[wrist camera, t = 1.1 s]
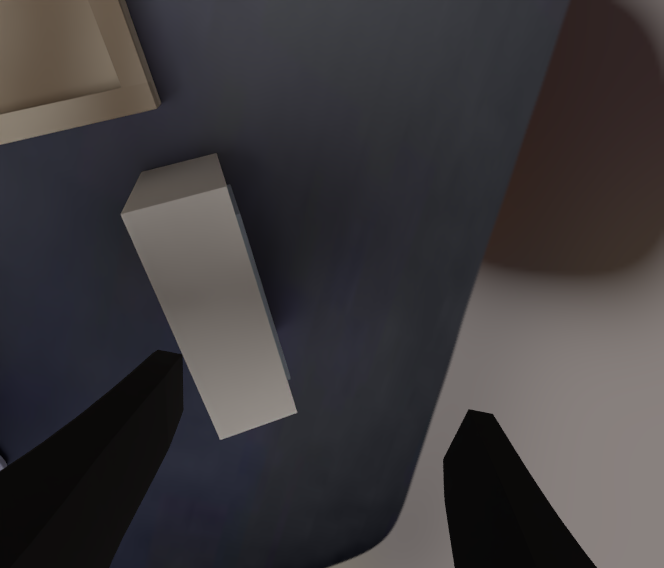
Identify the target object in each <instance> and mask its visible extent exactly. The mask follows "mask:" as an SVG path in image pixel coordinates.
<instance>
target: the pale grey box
mask: <svg viewBox="0 0 664 568" xmlns="http://www.w3.org/2000/svg"><path fill="white" fill-rule="evenodd" d="M121 217H122V219H123V221H124V223H125V226H126V228H127V230H128V233H129V235H130V237H131V239H132V242H133V244H134V246H135V248H136V251H137V253H138V255H139V257H140V260H141V262H142V264H143V266H144V269H145V271H146V273H147V275H148V278H149V280H150V282H151V284H152V287H153V289H154V291H155V294H156V296H157V298H158V300H159V303H160V305H161V307H162V309H163V312H164V314H165V316H166V318H167V321H168V323H169V325H170V327H171V330H172V332H173V334H174V336H175V339H176V341H177V343H178V345H179V348H180V350H181V352H182V354H183V357H184V359H185V361H186V364H187V366H188V368H189V370H190V373H191V375H192V377H193V379H194V382H195V384H196V386H197V388H198V391H199V393H200V395H201V397H202V400H203V402H204V404H205V406H206V409H207V411H208V413H209V415H210V418H211V420H212V422H213V425H214V427H215V429H216V431H217V434H218V436H219V438H220V440H222V439H224V438H227V437H230V436H233V435H236V434H239V433H241V432H244V431H247V430H250V429H253V428H255V427H258V426H261V425H264V424H267V423H270V422H272V421H275V420H278V419H281V418H284V417H287V416H289V415H292V414H295V413H297V410H296V407H295V404H294V401H293V397H292V394H291V391H290V388H289V384H288V381H287V380H288V379H291V378H290V375H289V371H288V368H287V365H286V361H285V358H284V355H283V352H282V348H281V345H280V342H279V339H278V335H277V332H276V329H275V326H274V322H273V319H272V316H271V313H270V309H269V306H268V303H267V300H266V296H265V293H264V290H263V286H262V283H261V280H260V277H259V273H258V270H257V267H256V264H255V260H254V257H253V254H252V251H251V247H250V244H249V241H248V238H247V234H246V231H245V228H244V224H243V221H242V218H241V215H240V212H239V209H238V206H237V203H236V200H235V197H234V194H233V191H232V188H231V185H230V184H229V185H226V182H225V178H224V175H223V172H222V169H221V166H220V162H219V159H218V156H217V153H215V154H211V155H207V156H203V157H199V158H195V159H191V160H187V161H183V162H179V163H175V164H171V165H167V166H163V167H159V168H155V169H151V170H147V171H143V172H141V174H140V176H139V178H138V180H137V182H136V184H135V186H134V188H133V190H132V192H131V194H130V196H129V198H128V200H127V202H126V204H125V206H124V208H123V210H122V212H121Z"/></svg>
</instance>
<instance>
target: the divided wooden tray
mask: <svg viewBox="0 0 664 568" xmlns="http://www.w3.org/2000/svg"><path fill="white" fill-rule="evenodd" d="M160 105H161V101H160V98H159V95H158V93H157V90H156V87H155V84H154V81H153V78H152V75H151V73H150V70H149V67H148V64H147V61H146V58H145V56H144V53H143V50H142V47H141V44H140V41H139V39H138V36H137V33H136V30H135V27H134V24H133V21H132V19H131V16H130V13H129V10H128V7H127V4H126V2H125V0H0V145H2V144H6V143H10V142H15V141H19V140H23V139H28V138H32V137H36V136H41V135H45V134H49V133H54V132H58V131H62V130H67V129H71V128H75V127H80V126H84V125H88V124H93V123H97V122H101V121H106V120H110V119H114V118H119V117H123V116H127V115H132V114H136V113H140V112H145V111H149V110H153V109H157V108H158V107H159V106H160Z"/></svg>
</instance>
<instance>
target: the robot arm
mask: <svg viewBox="0 0 664 568" xmlns="http://www.w3.org/2000/svg"><path fill="white" fill-rule="evenodd" d="M182 413H183V361H182V354H177V353H172V352H166V351H161V350H157V351H155V352H154V353H152V354H151V355H150V356H149V357H148V358H147V359H146V360H145V361H143V362H142V363H141V364H140V365H139V366H138V367H137V368H135V369H134V370H133V371H132V372H131V373H130V374H129V375H127V376H126V377H125V378H124V379H123V380H122V381H120V382H119V383H118V384H117V385H116V386H115V387H113V388H112V389H111V390H110V391H109V392H107V393H106V394H105V395H104V396H102V397H101V398H100V399H99V400H97V401H96V402H95V403H94V404H92V405H91V406H90V407H89V408H88V409H86V410H85V411H84V412H83V413H81V414H80V415H79V416H77V417H76V418H75V419H73V420H72V421H71V422H69V423H68V424H67V425H65V426H64V427H63V428H61V429H60V430H59V431H57V432H56V433H54V434H53V435H52V436H50V437H49V438H48V439H46V440H45V441H44V442H42V443H41V444H39V445H38V446H37V447H35V448H34V449H32V450H31V451H29V452H28V453H26V454H25V455H23V456H22V457H20V458H19V459H18V460H16V461H15V462H13V463H11V464H10V465H8V466H7V464H6V462H5V460H4V459H3V458H2V457H1V455H0V568H109V567H110V564H111V562H112V560H113V557H114V555H115V553H116V551H117V549H118V547H119V545H120V542H121V540H122V538H123V536H124V534H125V532H126V530H127V529H128V527H129V525H130V523H131V521H132V519H133V517H134V515H135V513H136V511H137V509H138V507H139V505H140V504H141V502H142V500H143V498H144V496H145V494H146V492H147V490H148V488H149V486H150V484H151V482H152V481H153V479H154V477H155V475H156V473H157V471H158V469H159V467H160V465H161V463H162V461H163V459H164V457H165V455H166V453H167V451H168V449H169V447H170V444H171V442H172V439H173V436H174V434H175V431H176V429H177V426H178V423H179V421H180V418H181V415H182ZM443 469H444V470H443V472H444V497H445V507H446V514H447V520H448V527H449V533H450V540H451V547H452V553H453V559H454V566H455V568H597V567H596V566H595V565H594V563H593V562H592V561H591V560H590V558H589V557H588V556H587V554H586V553H585V552H584V550H583V549H582V548H581V546H580V545H579V544H578V542H577V541H576V540H575V538H574V537H573V536H572V534H571V533H570V531H569V530H568V529H567V527H566V526H565V525H564V523H563V522H562V520H561V519H560V518H559V517H558V515H557V513H556V512H555V511H554V509H553V508H552V506H551V505H550V503H549V502H548V500H547V499H546V497H545V496H544V494H543V493H542V491H541V490H540V488H539V487H538V485H537V484H536V482H535V481H534V479H533V477H532V476H531V474H530V473H529V471H528V470H527V468H526V467H525V465H524V463H523V462H522V460H521V459H520V457H519V456H518V454H517V452H516V451H515V449H514V447H513V446H512V444H511V443H510V441H509V439H508V438H507V436H506V434H505V433H504V431H503V430H502V428H501V427H500V425H499V423H498V422H497V420H496V418H495V417H494V415H493V414H490V413H485V412H480V411H475V410H468V412H467V414H466V416H465V418H464V419H463V422H462V423H461V426H460V428H459V429H458V431H457V434H456V435H455V437H454V439H453V441H452V443H451V445H450V447H449V449H448V451H447V453H446V455H445V457H444V459H443Z"/></svg>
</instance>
